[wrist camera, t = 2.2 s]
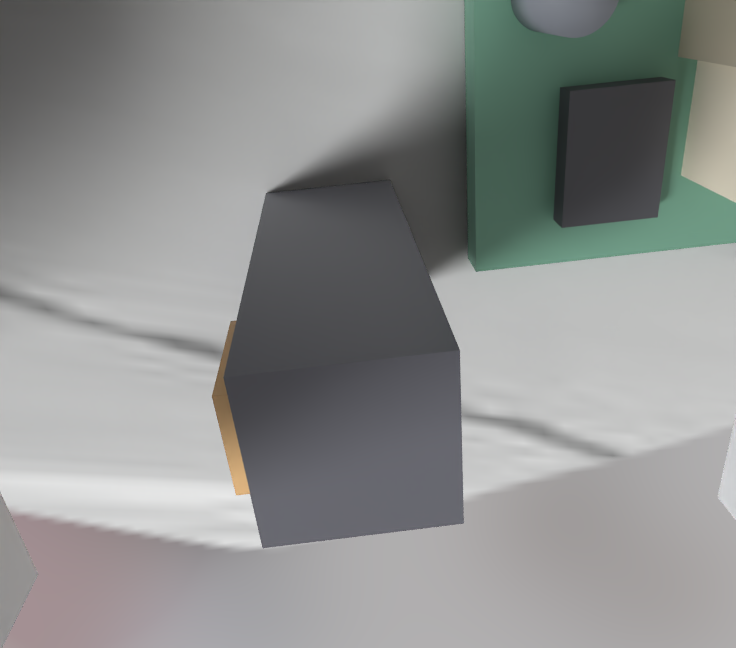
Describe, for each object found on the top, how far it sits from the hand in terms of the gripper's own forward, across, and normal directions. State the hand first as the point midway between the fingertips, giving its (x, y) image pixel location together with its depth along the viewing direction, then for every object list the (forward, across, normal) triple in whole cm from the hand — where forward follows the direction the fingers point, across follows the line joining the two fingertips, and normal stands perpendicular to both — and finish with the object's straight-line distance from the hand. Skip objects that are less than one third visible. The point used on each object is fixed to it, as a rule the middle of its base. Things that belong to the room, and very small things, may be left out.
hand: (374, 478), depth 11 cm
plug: (+11, 0, 0) cm, 11 cm away
